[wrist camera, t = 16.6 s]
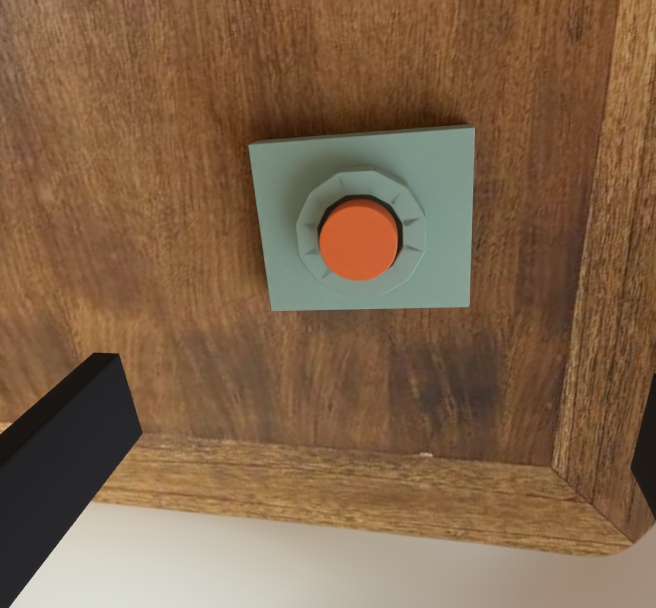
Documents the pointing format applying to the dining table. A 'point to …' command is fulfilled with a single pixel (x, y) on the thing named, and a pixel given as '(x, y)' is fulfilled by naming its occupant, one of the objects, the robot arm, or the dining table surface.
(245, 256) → the dining table surface
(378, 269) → the button
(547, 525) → the dining table surface
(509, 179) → the dining table surface
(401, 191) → the button box
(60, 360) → the dining table surface
